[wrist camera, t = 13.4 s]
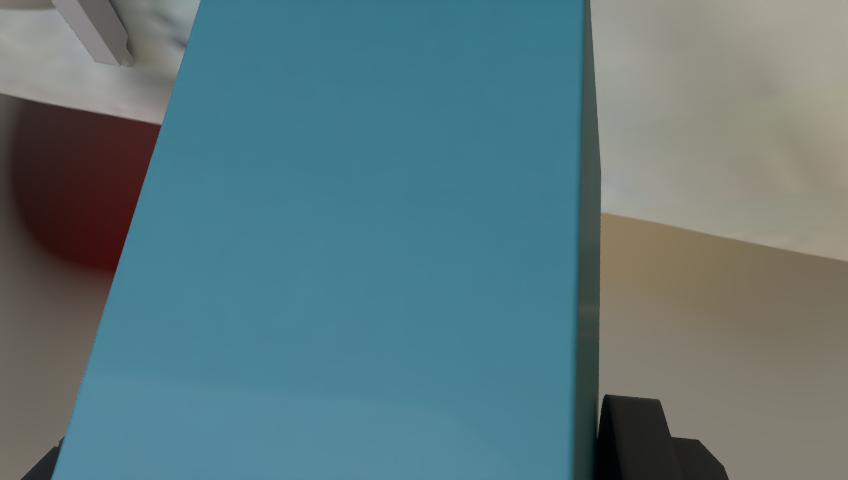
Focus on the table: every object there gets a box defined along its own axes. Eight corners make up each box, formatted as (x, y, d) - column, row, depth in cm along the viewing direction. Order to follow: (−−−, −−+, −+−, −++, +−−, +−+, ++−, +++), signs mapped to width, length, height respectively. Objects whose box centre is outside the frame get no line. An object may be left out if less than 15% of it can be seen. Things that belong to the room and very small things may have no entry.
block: (586, -53, 8) (554, 1307, 4) (601, 171, 12) (593, 908, 8) (200, -6, 9) (-123, 1020, 5) (337, 179, 14) (220, 812, 10)
